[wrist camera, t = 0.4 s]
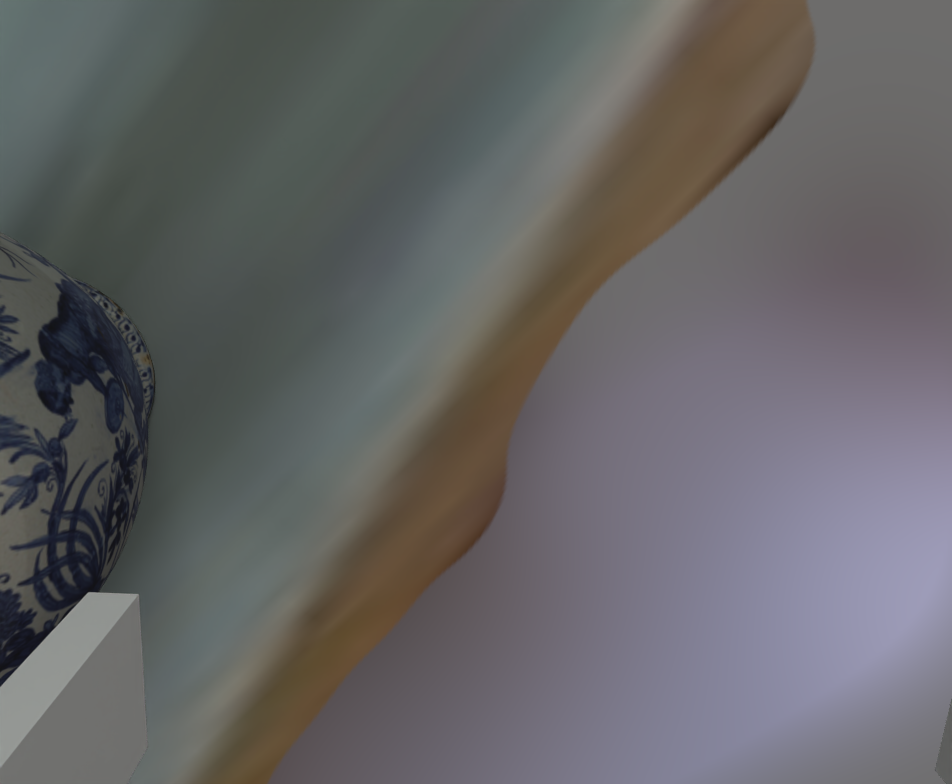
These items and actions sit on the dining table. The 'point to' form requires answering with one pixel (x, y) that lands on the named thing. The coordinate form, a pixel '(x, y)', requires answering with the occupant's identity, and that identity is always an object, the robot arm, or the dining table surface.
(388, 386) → the dining table surface
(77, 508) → the decorative vase
